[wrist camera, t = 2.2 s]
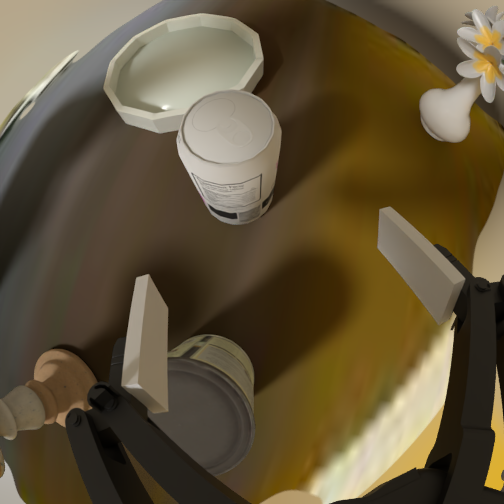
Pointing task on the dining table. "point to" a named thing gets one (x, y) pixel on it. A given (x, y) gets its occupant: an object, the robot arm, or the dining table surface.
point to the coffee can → (209, 402)
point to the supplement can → (231, 153)
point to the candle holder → (46, 395)
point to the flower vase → (467, 78)
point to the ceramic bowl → (181, 68)
